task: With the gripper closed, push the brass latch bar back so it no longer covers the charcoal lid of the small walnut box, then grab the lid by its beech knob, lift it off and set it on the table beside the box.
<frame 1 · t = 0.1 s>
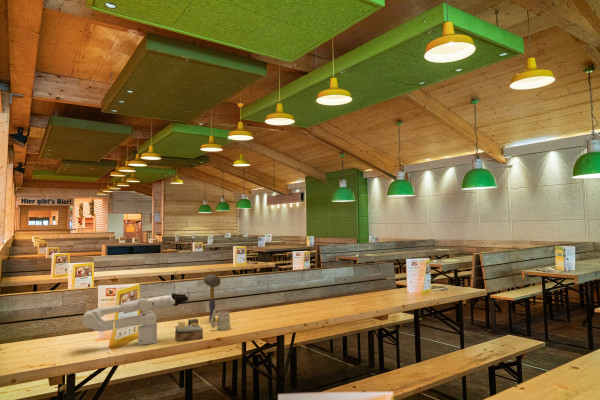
hand: (186, 297, 214), 22 cm above the table, tool horizontal, fingers open, 7 cm apart
rubber mallet: (212, 322, 248), on the table
latch bar: (193, 323, 219), point 6 cm above the table, slide at 0.0 cm
lid: (188, 329, 211), point 4 cm above the table, touching toolbox
toolbox: (188, 338, 211), on the table
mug: (220, 329, 228), on the table
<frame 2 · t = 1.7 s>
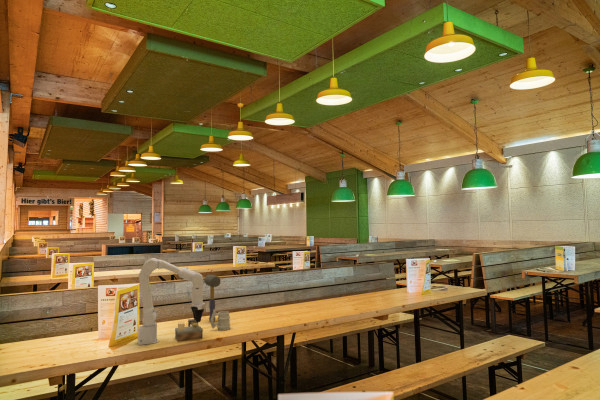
hand: (197, 320, 210), 9 cm above the table, tool pointing down, fingers open, 6 cm apart
nothing on the table moved.
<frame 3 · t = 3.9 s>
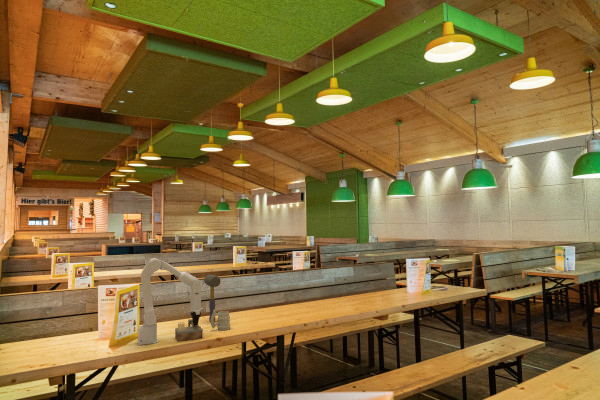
hand: (195, 325, 215), 6 cm above the table, tool pointing down, fingers closed
latch bar: (193, 323, 220), point 6 cm above the table, slide at 0.7 cm, touching gripper
everything else where it was.
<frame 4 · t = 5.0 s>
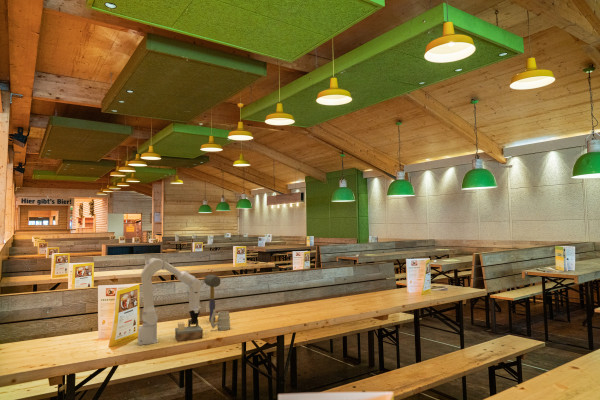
hand: (194, 323, 218), 6 cm above the table, tool pointing down, fingers closed
latch bar: (192, 321, 224), point 6 cm above the table, slide at 5.0 cm, touching gripper
everything else where it was.
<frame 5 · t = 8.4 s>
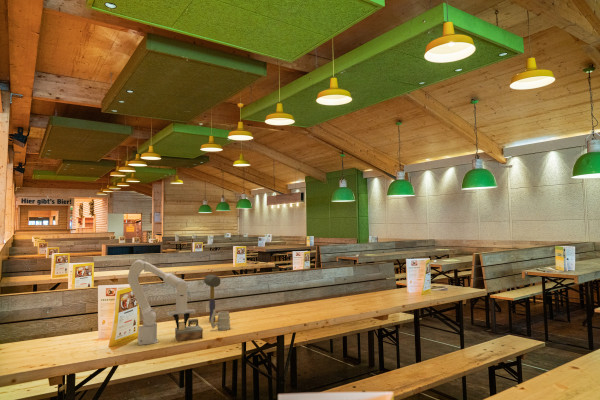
hand: (181, 328, 209), 6 cm above the table, tool pointing down, fingers closed on lid, 3 cm apart
latch bar: (192, 321, 224), point 6 cm above the table, slide at 5.0 cm
lid: (188, 330, 211), point 4 cm above the table, touching gripper
everything else where it was.
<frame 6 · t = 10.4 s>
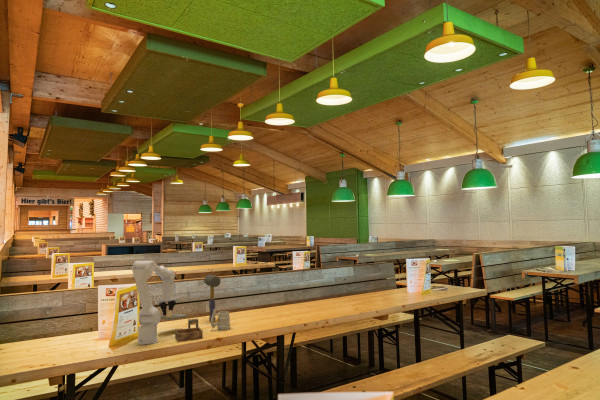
hand: (167, 314, 222), 10 cm above the table, tool pointing down, fingers closed on lid, 3 cm apart
lid: (173, 317, 225), point 8 cm above the table, touching gripper
everything else where it was.
when the fingers open (3 cm above the table, at t = 12.4 s): lid drops 1 cm, on the table.
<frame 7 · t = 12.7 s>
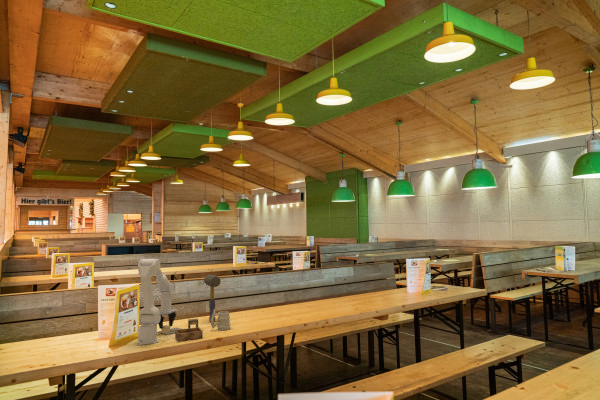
hand: (165, 327, 223), 3 cm above the table, tool pointing down, fingers open, 6 cm apart
lid: (171, 332, 225), on the table
everything else where it was.
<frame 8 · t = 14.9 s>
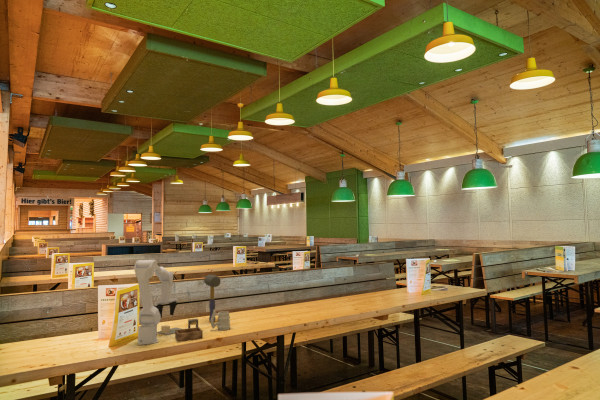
hand: (166, 316, 223), 9 cm above the table, tool pointing down, fingers open, 7 cm apart
nothing on the table moved.
at the end: latch bar slide at 5.0 cm; lid inside the target area (1.5 cm from its centre), on the table; lid tilted 0° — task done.
